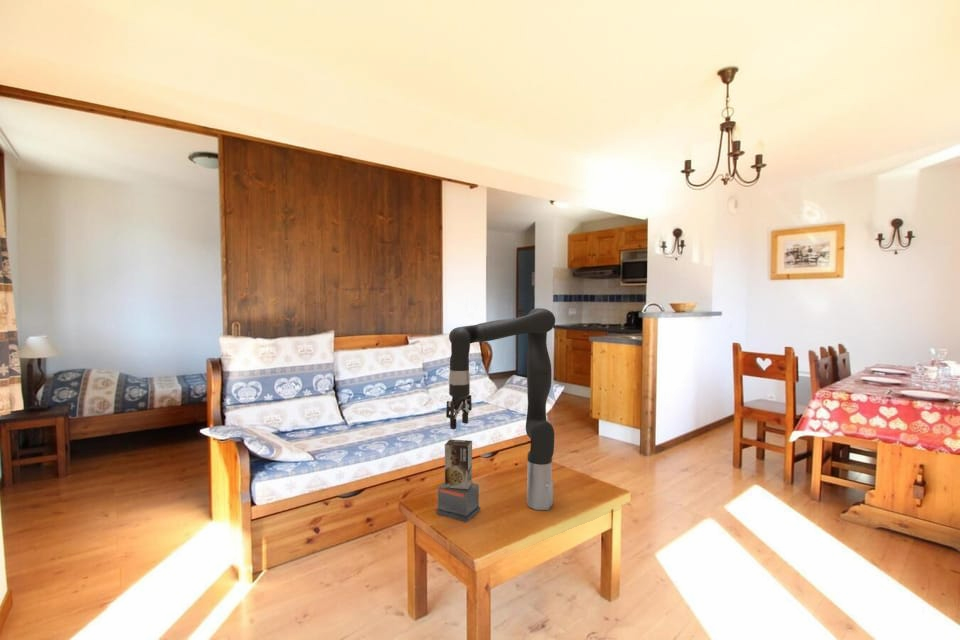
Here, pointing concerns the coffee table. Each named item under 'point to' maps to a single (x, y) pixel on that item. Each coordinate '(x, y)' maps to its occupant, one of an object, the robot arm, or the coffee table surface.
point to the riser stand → (458, 502)
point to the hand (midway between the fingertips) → (459, 425)
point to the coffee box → (458, 464)
